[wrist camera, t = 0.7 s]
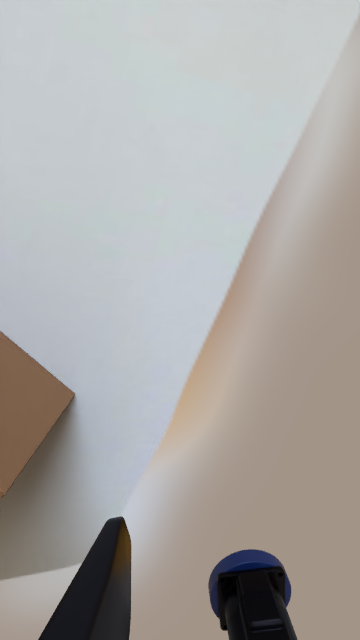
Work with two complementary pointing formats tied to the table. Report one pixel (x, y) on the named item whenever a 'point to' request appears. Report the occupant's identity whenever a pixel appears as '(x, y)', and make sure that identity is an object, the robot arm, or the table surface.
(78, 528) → the table surface
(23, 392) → the carton
